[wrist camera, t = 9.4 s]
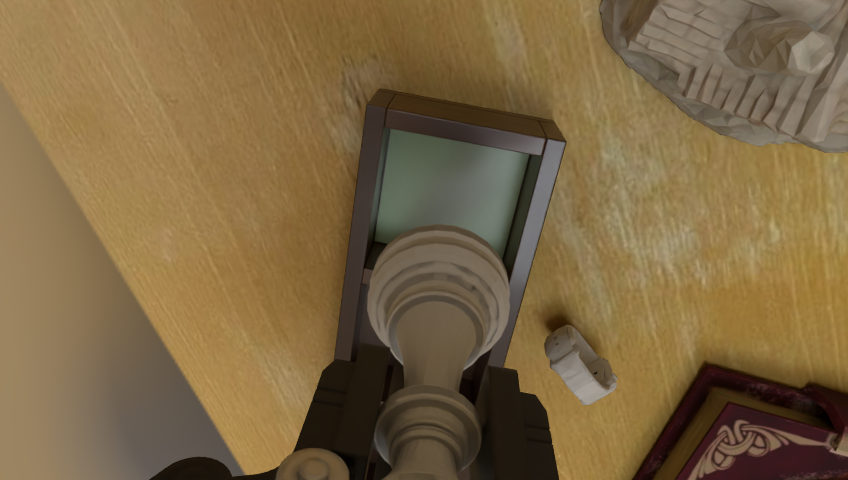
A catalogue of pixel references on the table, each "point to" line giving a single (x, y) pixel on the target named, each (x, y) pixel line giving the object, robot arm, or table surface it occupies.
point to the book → (752, 433)
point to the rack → (446, 202)
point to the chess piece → (435, 344)
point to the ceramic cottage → (743, 64)
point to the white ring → (579, 365)
